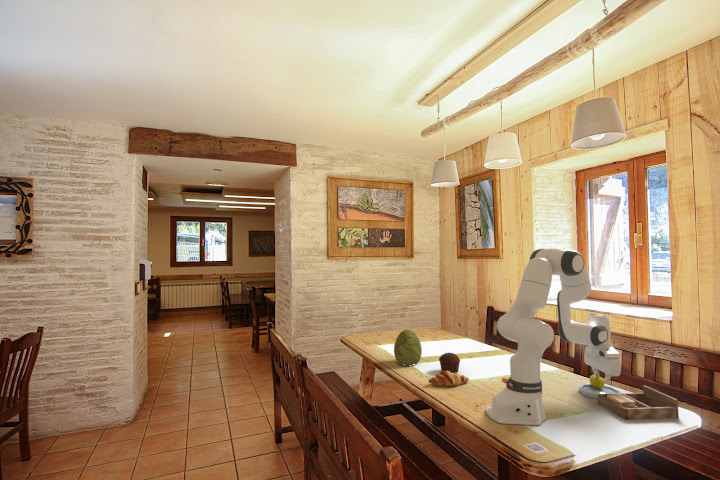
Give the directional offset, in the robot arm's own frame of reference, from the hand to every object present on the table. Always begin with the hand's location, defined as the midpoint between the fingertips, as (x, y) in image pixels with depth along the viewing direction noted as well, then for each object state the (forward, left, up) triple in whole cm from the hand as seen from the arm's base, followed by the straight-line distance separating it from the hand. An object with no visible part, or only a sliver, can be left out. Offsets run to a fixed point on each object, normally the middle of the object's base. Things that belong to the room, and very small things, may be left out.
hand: (601, 379), depth 172 cm
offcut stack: (-5, -19, -6) cm, 21 cm away
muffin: (-60, +37, -7) cm, 71 cm away
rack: (+1, -19, -6) cm, 20 cm away
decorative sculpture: (-80, +55, -6) cm, 98 cm away
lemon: (0, +1, -3) cm, 4 cm away
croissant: (-66, +18, -7) cm, 68 cm away
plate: (-1, 0, -6) cm, 6 cm away
